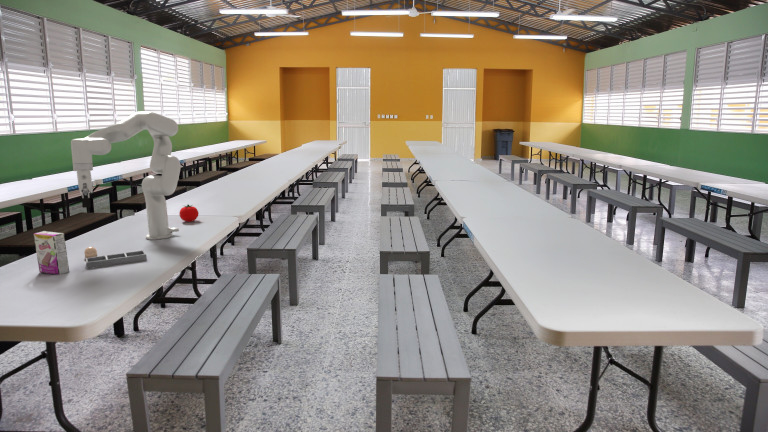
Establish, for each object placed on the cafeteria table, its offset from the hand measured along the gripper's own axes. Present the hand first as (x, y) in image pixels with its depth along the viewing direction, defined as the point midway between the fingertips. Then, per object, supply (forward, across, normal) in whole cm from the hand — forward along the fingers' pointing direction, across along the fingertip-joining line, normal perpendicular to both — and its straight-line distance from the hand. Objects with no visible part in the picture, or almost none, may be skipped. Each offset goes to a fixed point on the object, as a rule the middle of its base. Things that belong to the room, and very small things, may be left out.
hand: (86, 205), depth 234 cm
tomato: (+20, +51, -52) cm, 76 cm away
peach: (+23, -4, 0) cm, 23 cm away
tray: (+23, -18, -9) cm, 30 cm away
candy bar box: (+24, -20, +14) cm, 34 cm away
